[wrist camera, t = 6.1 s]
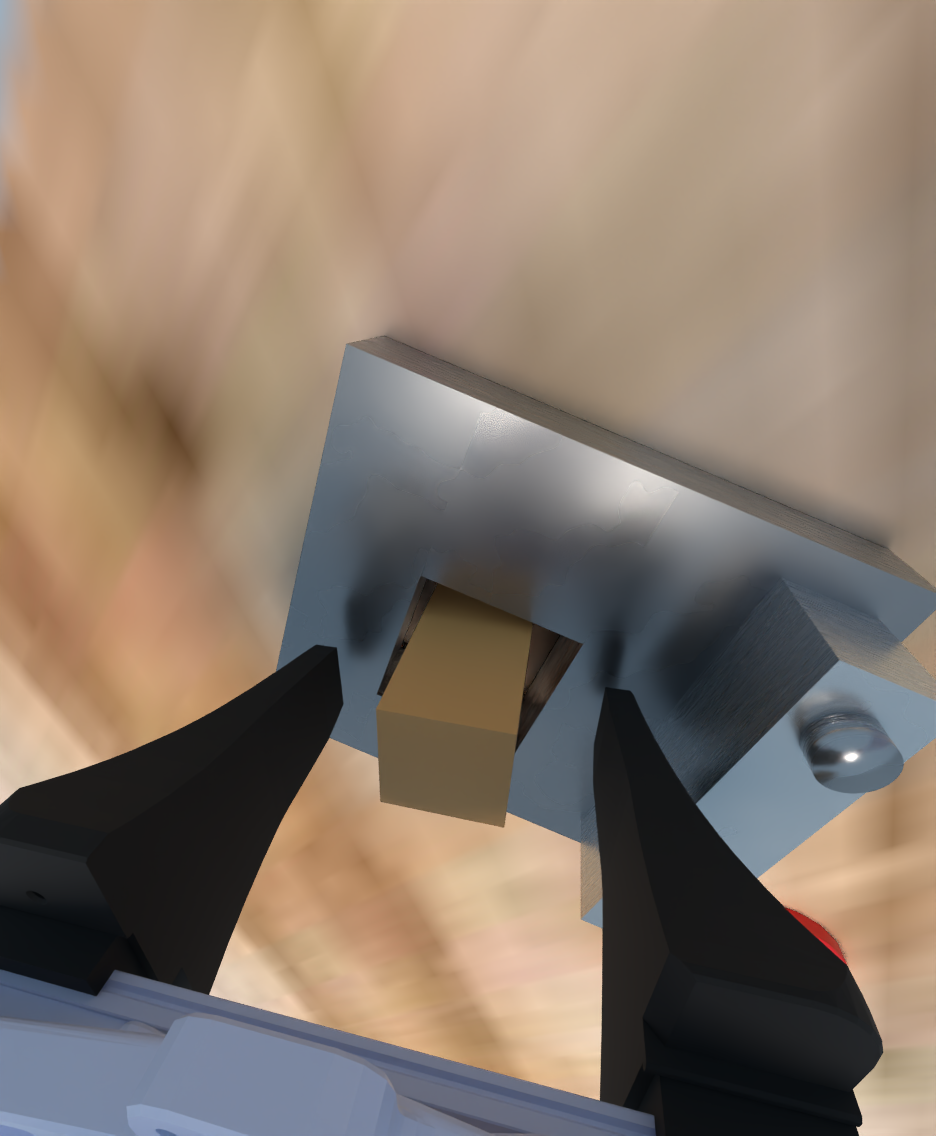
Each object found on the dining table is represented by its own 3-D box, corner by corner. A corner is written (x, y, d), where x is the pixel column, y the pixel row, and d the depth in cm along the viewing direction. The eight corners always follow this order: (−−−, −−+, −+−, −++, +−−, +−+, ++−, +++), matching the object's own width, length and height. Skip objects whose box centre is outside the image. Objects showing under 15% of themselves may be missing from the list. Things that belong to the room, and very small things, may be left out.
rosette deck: (890, 549, 13) (1093, 719, 8) (647, 811, 19) (672, 1004, 14) (383, 335, 13) (252, 363, 8) (301, 666, 19) (196, 805, 14)
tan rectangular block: (537, 587, 16) (516, 734, 10) (527, 664, 17) (504, 827, 12) (442, 574, 16) (375, 709, 11) (439, 650, 17) (380, 801, 12)
